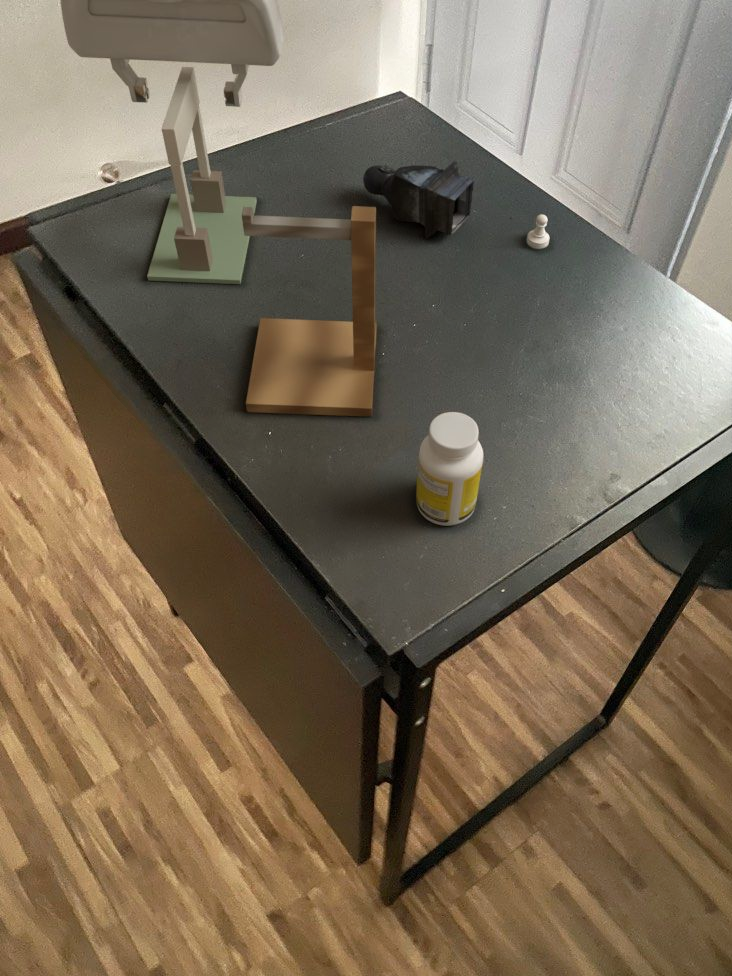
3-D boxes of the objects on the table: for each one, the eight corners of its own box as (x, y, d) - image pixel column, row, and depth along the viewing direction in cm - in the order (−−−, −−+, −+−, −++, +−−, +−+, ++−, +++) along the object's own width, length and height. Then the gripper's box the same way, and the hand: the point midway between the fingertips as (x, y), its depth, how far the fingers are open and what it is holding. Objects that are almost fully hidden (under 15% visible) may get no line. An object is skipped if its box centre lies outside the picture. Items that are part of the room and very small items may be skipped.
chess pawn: (541, 233, 97) (547, 206, 94) (552, 246, 96) (558, 219, 93) (522, 238, 97) (527, 211, 94) (532, 251, 95) (538, 224, 92)
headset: (180, 270, 90) (149, 131, 77) (198, 201, 97) (172, 63, 84) (210, 271, 90) (183, 132, 77) (226, 202, 97) (204, 65, 84)
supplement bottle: (468, 476, 77) (480, 402, 68) (481, 524, 74) (495, 452, 65) (410, 482, 76) (415, 408, 68) (420, 531, 73) (427, 459, 65)
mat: (147, 280, 90) (146, 276, 90) (172, 197, 98) (171, 193, 98) (240, 284, 90) (239, 280, 90) (256, 201, 99) (256, 197, 98)
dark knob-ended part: (378, 183, 102) (378, 131, 96) (473, 219, 98) (479, 168, 93) (349, 209, 98) (348, 158, 93) (447, 248, 95) (452, 197, 90)
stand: (247, 412, 80) (219, 254, 65) (261, 326, 87) (239, 165, 72) (372, 417, 80) (372, 260, 65) (376, 331, 87) (378, 171, 72)
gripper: (31, -45, 71) (77, 113, 83) (270, -33, 72) (283, 123, 83) (50, -75, 75) (92, 80, 86) (277, -64, 75) (289, 90, 87)
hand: (187, 101), depth 85 cm, fingers open, 8 cm apart
